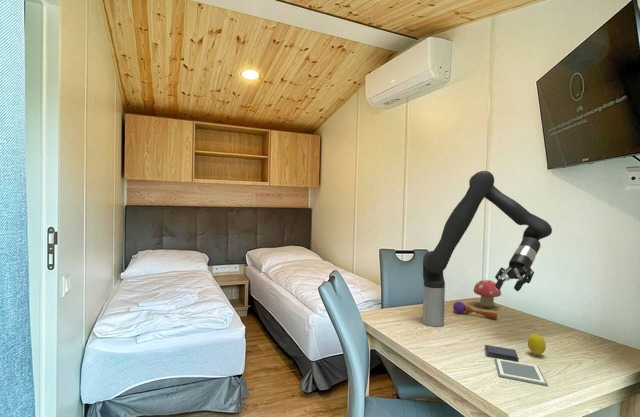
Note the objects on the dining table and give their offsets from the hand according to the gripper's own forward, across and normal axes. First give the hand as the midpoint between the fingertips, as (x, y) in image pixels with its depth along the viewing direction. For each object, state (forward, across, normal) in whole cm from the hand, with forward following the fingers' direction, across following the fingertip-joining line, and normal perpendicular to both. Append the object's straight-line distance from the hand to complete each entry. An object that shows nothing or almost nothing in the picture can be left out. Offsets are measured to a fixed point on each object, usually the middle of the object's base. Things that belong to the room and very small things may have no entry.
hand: (506, 289), depth 131 cm
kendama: (+1, -33, +22) cm, 40 cm away
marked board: (+29, +15, +5) cm, 33 cm away
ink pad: (+24, +4, +8) cm, 25 cm away
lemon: (+16, +8, +17) cm, 25 cm away
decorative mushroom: (-12, -41, +34) cm, 54 cm away
